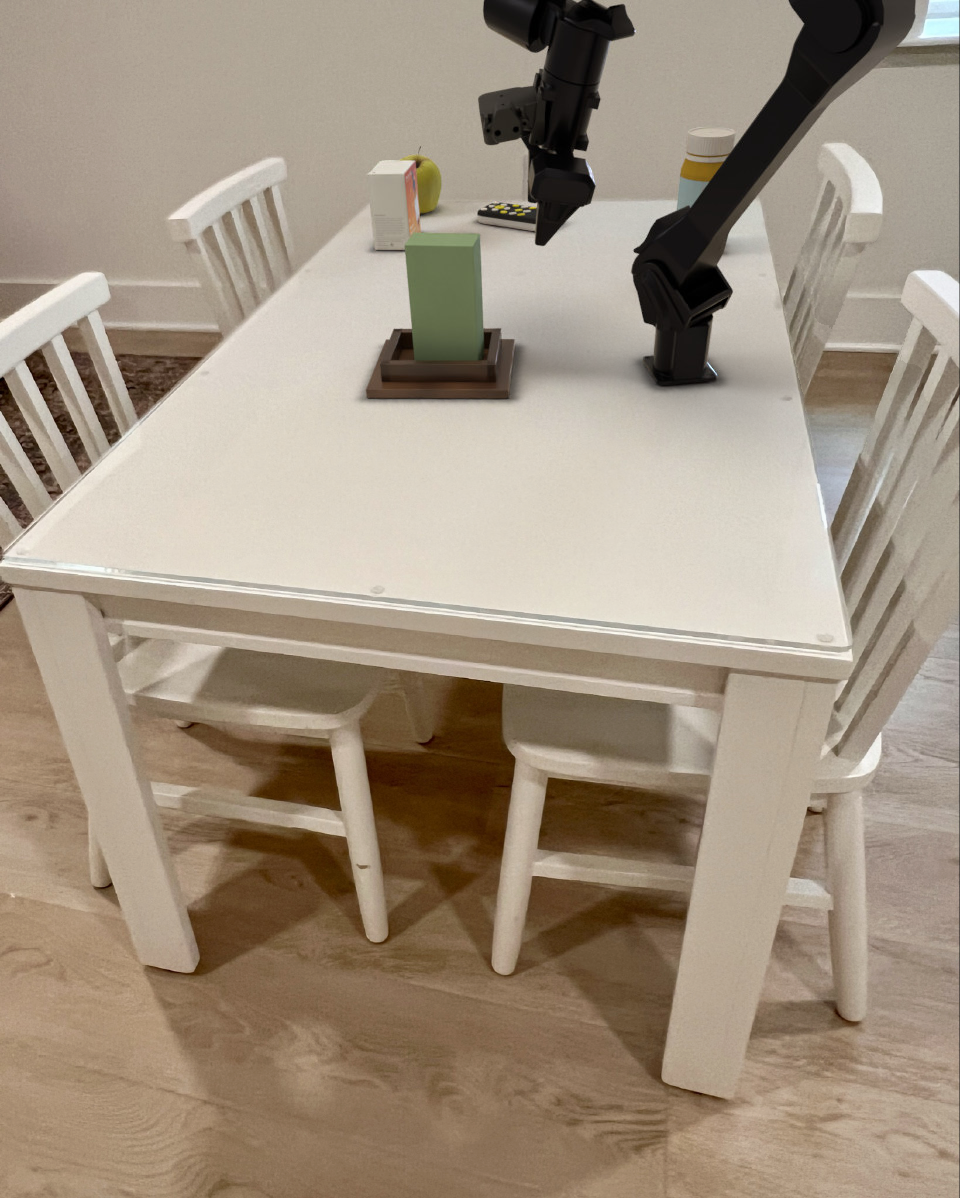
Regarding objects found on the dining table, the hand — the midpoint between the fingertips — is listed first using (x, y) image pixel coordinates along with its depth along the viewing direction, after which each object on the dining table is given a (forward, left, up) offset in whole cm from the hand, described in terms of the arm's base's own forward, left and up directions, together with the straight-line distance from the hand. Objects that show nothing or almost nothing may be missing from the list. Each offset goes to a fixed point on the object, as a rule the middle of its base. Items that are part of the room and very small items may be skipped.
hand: (535, 223), depth 99 cm
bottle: (+23, -27, -12) cm, 38 cm away
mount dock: (-10, +12, -12) cm, 20 cm away
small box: (+36, +15, -12) cm, 41 cm away
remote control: (+41, -4, -12) cm, 43 cm away
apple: (+51, +11, -12) cm, 54 cm away
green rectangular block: (-9, +11, -11) cm, 18 cm away
